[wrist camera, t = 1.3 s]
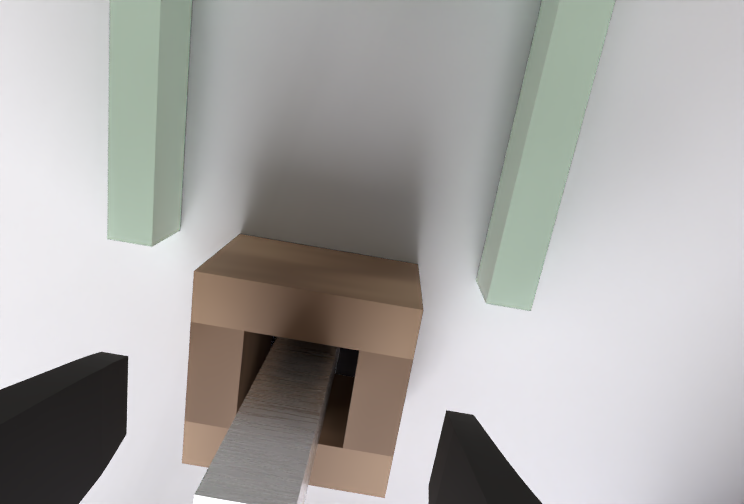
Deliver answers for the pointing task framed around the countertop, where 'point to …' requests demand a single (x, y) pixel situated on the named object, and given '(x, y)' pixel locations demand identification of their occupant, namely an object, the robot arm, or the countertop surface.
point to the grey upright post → (274, 429)
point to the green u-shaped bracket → (519, 173)
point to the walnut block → (311, 324)
